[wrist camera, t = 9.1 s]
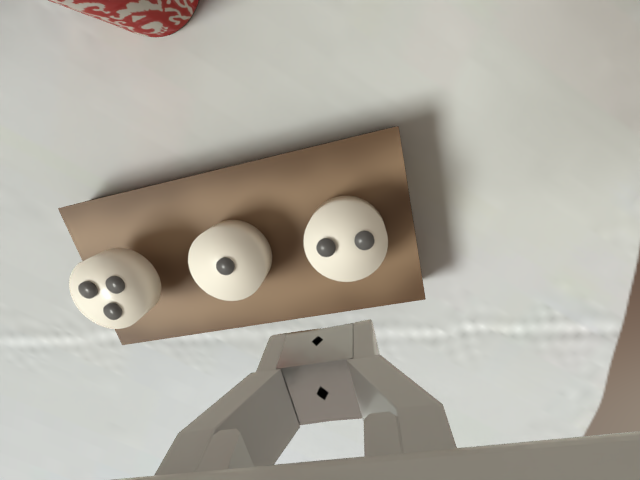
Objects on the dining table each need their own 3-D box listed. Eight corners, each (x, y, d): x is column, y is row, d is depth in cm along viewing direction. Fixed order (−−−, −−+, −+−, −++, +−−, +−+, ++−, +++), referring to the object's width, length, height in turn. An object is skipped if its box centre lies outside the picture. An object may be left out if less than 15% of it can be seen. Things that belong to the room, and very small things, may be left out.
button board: (89, 200, 27) (58, 208, 24) (393, 126, 23) (398, 126, 20) (144, 325, 31) (122, 345, 28) (418, 281, 26) (425, 299, 24)
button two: (299, 204, 22) (293, 212, 20) (377, 188, 21) (379, 194, 19) (317, 275, 23) (313, 289, 21) (391, 262, 23) (394, 275, 20)
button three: (80, 254, 23) (53, 266, 21) (144, 241, 22) (122, 252, 20) (110, 318, 25) (87, 335, 23) (171, 307, 24) (154, 324, 22)
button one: (191, 227, 23) (175, 237, 21) (260, 213, 22) (250, 221, 20) (214, 292, 25) (201, 307, 23) (280, 281, 24) (273, 295, 22)
